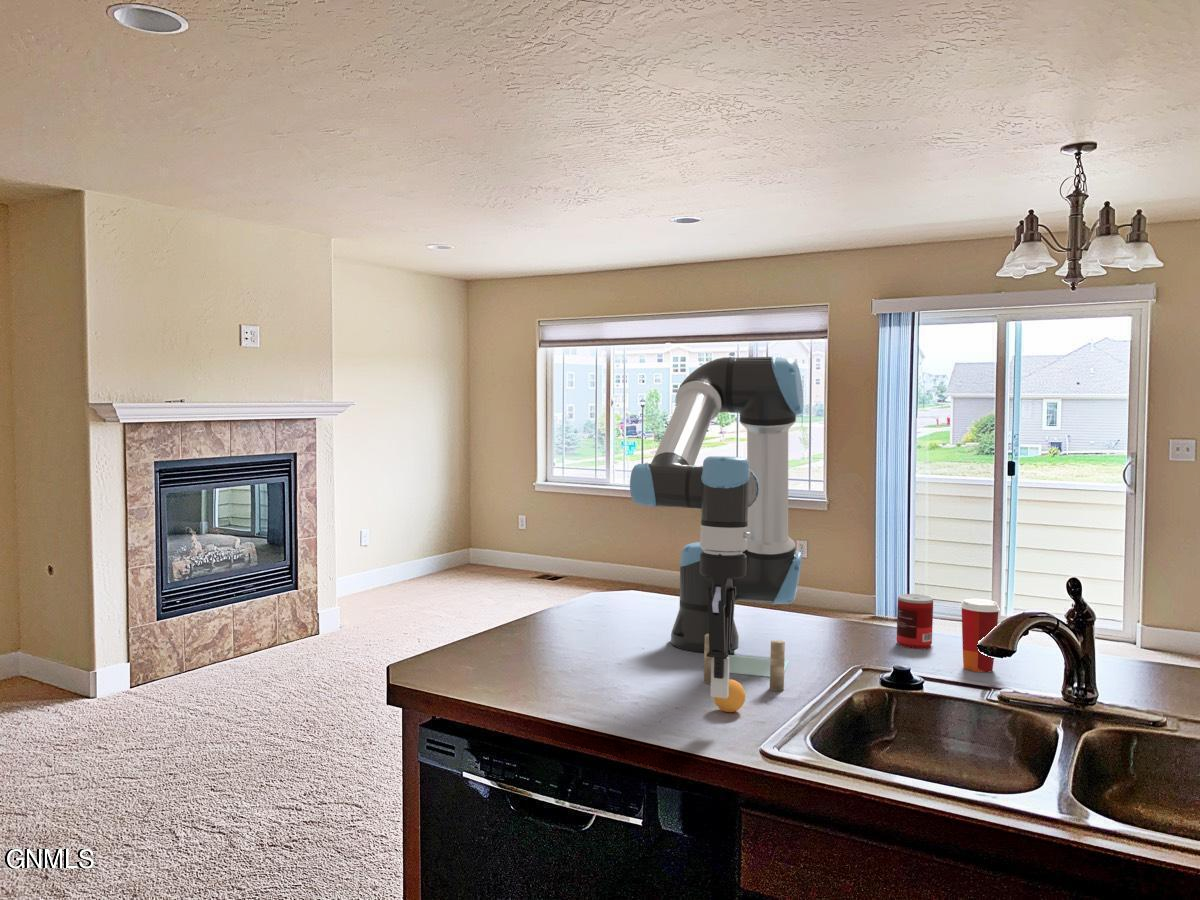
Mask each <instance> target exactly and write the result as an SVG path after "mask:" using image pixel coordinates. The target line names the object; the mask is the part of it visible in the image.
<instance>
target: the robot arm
mask: <svg viewBox="0 0 1200 900" xmlns="http://www.w3.org/2000/svg"><path fill="white" fill-rule="evenodd" d="M801 376H802V375H801V371H800V367H799V365H798V363H797V362H796V360H795V359H794V358H790V357H780V356H779V357H778V356H751V357H743V356H742V357H731V356H729V357H720V358H715V359H712V360H710V361H708V362H706V363H704V364H702V365H701V366H699V367H697V368H696V369H695V370H693V371H692V372H691V373H690V374H689V375H688V376H686V378H685V379H684V380H683V381H682V382H681V384H680V386H679V387H678V389H677V391H676V394H675V409H674V411H673V413H672V416H671V418H670V420H669V422H668V424H667V427H666V429H665V431H664V433H663V435H662V437H661V439H660V442H659V445H658V447H657V449H656V451H655V454H654V456H653V459H652V460H651V462H650V463H648V462H645V463H637V464H635V465H634V466H633V468H632V469H631V472H630V479H629V493H630V498H631V500H632V502H634V504H636V505H639V506H650V507H653V508H656V507H658V508H684V509H686V508H689V509H701V514H700V515H701V521H700V536H699V537H700V539H699V541H696V542H691V543H688V544H686V545H685V546H684V547H683V548H682V549H681V553H680V563H679V569H680V570H679V608H678V609H679V610H678V612H677V615H676V617H675V620H674V621H675V622H674V624H673V626H672V630H671V634H670V644H671V645H672V646H674V647H676V648H678V649H681V650H685V651H691V652H700V653H704V648H705V635H706V634H709V652H708V653H707V657H712V658H711V684H710V697H711V698H712V697H713V698H714V697H718V698H728V696H729V679H730V673H729V662H730V656H728V655H735V649H737V648H738V647H739V644H740V643H739V640H740V638H739V637H740V636H739V633H738V630H737V626H736V623H735V619H734V617H735V604H736V601H739V602H751V603H760V604H761V603H762V604H771V605H775V604H776V605H790V604H791V603H793V602H794V601H795V600H796V598H797V597H796V596H797V592H798V587H799V581H800V576H801V570H802V569H801V568H802V562H803V552H801V551H800V550H796V542H795V541H794V540H793V539H792V538H791V537H790V536H789V429H790V428H792V426H793V425H794V424H795V423H796V421H797V420H796V419H797V415H801V414H802V413H803V412H804V389H803V382H802V377H801ZM721 413H731V414H736V413H737V414H739V423H740V424H741V425H742V426H743V427H744V428H745V429H746V435H747V436H746V441H747V443H746V444H747V445H746V448H747V449H746V451H747V452H746V453H747V458H746V457H742V456H724V455H723V456H719V455H718V456H712V455H711V456H706V457H705V458H704V460H703V461H702V463H703V464H702V465H695V464H696V461H697V458H698V455H699V453H700V451H701V448H702V445H703V443H704V440H705V438H706V436H707V432H708V430H709V427H710V424H711V422H712V420H714V419H715V418H716V417H718V415H719V414H721Z"/></svg>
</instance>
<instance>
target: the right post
mask: <svg viewBox="0 0 1200 900" xmlns="http://www.w3.org/2000/svg"><path fill="white" fill-rule="evenodd" d="M785 646H786V641H785V640H781V639H780V640H779V639H774V640H771V641H770V655H769V656H770V658H769V659H770V677H769V690H770V691H772V692H783V691H784V690H785V688H784V687H785V673H784V660H786V659H785V658H786V657H785V655H786V653H785V651H786V647H785Z"/></svg>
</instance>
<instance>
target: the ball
mask: <svg viewBox="0 0 1200 900" xmlns="http://www.w3.org/2000/svg"><path fill="white" fill-rule="evenodd" d="M713 700H714V703H715V705H716V706H717V708H719V709H720V710H721V711H723V712H727V713H734V712H737V711H739V710H741V708H742V707H743V706H744V704H745V701H746V692H745V689H744V687H743V685H742V684H741V683H740V682H738V681H736V680H735V679H732V678H729V696H728V698H718V697H713Z"/></svg>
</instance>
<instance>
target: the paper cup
mask: <svg viewBox="0 0 1200 900" xmlns="http://www.w3.org/2000/svg"><path fill="white" fill-rule="evenodd" d="M960 603H961V604H960V605H959V606H958V607H959V608H961V636H962V637H961V638H962V663H963V669H965V670H967V671H970V672H976V673H991V672H993V671H994V670H993V669H994V661H995V657H994V658H991V657H988V656H985V655H983V654H981V653H980V652H979V651H978V648H977V644H978V641H979V640H981V639H982V638H983V637H985V636H986V635H987V634H988V633H989V632H990V631H991V630H992V629H993V628H994V627H995V626H997V627H998V623H999V622H998V619H999V612H1000V611H1001V609H1000V607H999V604H998V602H997V601H994V600H990V599H983V598H965V599H963V600H962V601H961V602H960ZM990 671H991V672H990Z"/></svg>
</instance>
